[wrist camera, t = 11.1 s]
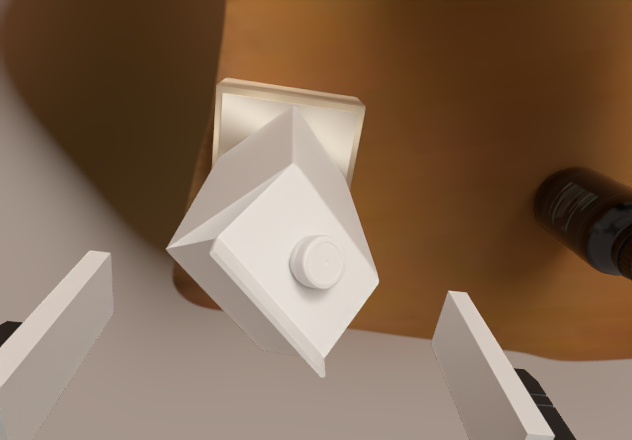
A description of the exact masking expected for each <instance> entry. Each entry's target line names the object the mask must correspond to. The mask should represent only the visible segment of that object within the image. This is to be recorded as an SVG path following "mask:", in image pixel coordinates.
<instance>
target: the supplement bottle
mask: <svg viewBox="0 0 632 440" xmlns="http://www.w3.org/2000/svg"><path fill="white" fill-rule="evenodd" d="M534 210H535V215H536V218H537V220H538V222H539V223H540V225H541V226H542V227H543V228H544V229H546V230H547V231H548V232H549V233H550V234H552V235H553V236H554V237H555V238H557V239H558V240H559V241H560V242H562V243H563V244H564V245H565V246H566V247H568V248H569V249H570V250H571V251H573V252H574V253H575V254H576V255H578V256H579V257H580V258H581V259H583V260H584V261H585V262H586V263H588V264H589V265H590V266H591V267H593V268H594V269H596V270H598V271H600V272H602V273H605V274H609V275H619V276H621V275H622V276H624V277H626V278H628V279H630V280H632V188H631V187H628V186H626V185H624V184H622V183H620V182H618V181H616V180H614V179H612V178H610V177H607V176H605V175H603V174H601V173H599V172H597V171H594V170H592V169H589V168H584V167H573V168H568V169H565V170H562V171H560V172H558V173H556V174H555V175H553V176H552V177H550V178H549V179H548V180H547V181H546V182H545V183H544V184H543V186H542V187H541V188H540V190H539V192H538V194H537V196H536V199H535V206H534Z"/></svg>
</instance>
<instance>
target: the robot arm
mask: <svg viewBox="0 0 632 440" xmlns="http://www.w3.org/2000/svg"><path fill="white" fill-rule="evenodd" d="M113 313H114V307H113V287H112V268H111V253H107V252H98V251H89V252H88V253H87V254H86V255H85V256H84V257H83V258H82V259H81V260H80V261H79V263H78V264H77V265H76V266H75V267H74V268H73V269H72V270H71V271H70V272H69V273H68V275H67V276H66V277H65V278H64V279H63V280H62V281H61V282H60V283H59V284H58V286H56V287H55V289H54V290H53V291H52V292H51V293H50V294H49V295H48V296H47V297H46V298H45V299H44V301H43V302H42V303H41V304H40V305H39V306H38V307H37V308H36V309H35V310H34V311H33V312H32V314H31V315H30V316H29V317H28V318H27V319H26V320H25V321H24V322H23V323H22V322H12V321H7V322H5V323H3V324H1V325H0V440H33V439H34V437H35V436H36V434H37V432H38V431H39V429H40V428H41V426H42V425H43V423H44V421H45V420H46V418H47V417H48V415H49V414H50V412H51V410H52V409H53V407H54V406H55V404H56V403H57V401H58V400H59V398H60V396H61V395H62V393H63V392H64V390H65V389H66V387H67V385H68V384H69V382H70V381H71V379H72V378H73V376H74V374H75V373H76V371H77V370H78V368H79V367H80V365H81V364H82V362H83V360H84V359H85V357H86V356H87V354H88V352H89V351H90V349H91V348H92V346H93V345H94V343H95V342H96V340H97V338H98V337H99V335H100V334H101V332H102V330H103V329H104V327H105V326H106V324H107V323H108V321H109V320H110V318H111V317H112V315H113ZM431 347H432V349H433V351H434V354H435V356H436V359H437V361H438V364H439V366H440V369H441V371H442V374H443V376H444V379H445V381H446V383H447V386H448V388H449V391H450V393H451V396H452V398H453V401H454V403H455V406H456V408H457V411H458V413H459V415H460V418H461V420H462V422H463V425H464V427H465V430H466V433H467V435H468V438H469V440H576V439H575V437H574V436H573V434H572V433H571V431H570V430H569V428H568V427H567V425H566V424H565V422H564V421H563V419H562V418H561V416H560V414H559V413H558V411H557V410H556V408H554V407H553V404H552V402H551V401H550V399H549V398H548V397H546V393H545V392H544V391H543V389H542V388H541V386H540V384H539V383H538V381H537V380H536V379H534V378H533V377H532V376H531V375H530V374H529V373H528V372H527V371H526V370H524V369H515V368H513V367H512V366H511V364H510V362H509V361H508V359H507V357H506V356H505V354H504V352H503V351H502V349H501V348H500V346H499V344H498V343H497V341H496V339H495V338H494V336H493V335H492V333H491V331H490V330H489V328H488V327H487V325H486V323H485V322H484V320H483V318H482V317H481V315H480V314H479V312H478V310H477V309H476V307H475V305H474V304H473V302H472V301H471V299H470V297H469V296H468V294H467V293H466V292H457V291H448V293H447V296H446V299H445V302H444V305H443V308H442V311H441V314H440V317H439V320H438V323H437V326H436V329H435V332H434V336H433V339H432V342H431Z"/></svg>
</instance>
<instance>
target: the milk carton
mask: <svg viewBox="0 0 632 440" xmlns="http://www.w3.org/2000/svg"><path fill="white" fill-rule="evenodd" d="M166 250H167V252H168V253H170V255H171V256H172V257H173V258H174V259H175V260H176V261H177V262H178V263H179V264H180V266H181V267H182V268H183V269H184V270H185V271H186V272H187V273H188V274H189V275H190V276H191V277H192V278H193V279H194V280H195V281H196V282H197V283H198V284H199V286H200V287H201V288H202V289H203V290H204V291H205V292H206V293H207V294H208V295H209V296H210V297H211V298H212V299H213V300H214V301H215V302H216V303H217V304H218V305H219V307H220V308H221V309H222V310H223V311H224V312H225V313H226V314H227V315H228V316H229V317H230V318H231V319H232V320H233V321H234V322H235V323H236V324H237V325H238V326H239V327H240V329H241V330H242V331H243V332H244V333H245V334H246V335H247V336H248V337H249V338H250V339H251V340H252V341H253V342H254V343H255V344H256V345H257V346H258V347H259V348H260V349H261V350H263V351H268V352H275V353H281V354H287V355H293V356H300V357H303V358H304V359H305V360H306V361H307V363H308V364H309V365H310V366H311V367H312V368H313V369H314V370H315V371H316V372H317V374H318V375H319V376H320V377H321V378H323V377H325V376H326V373H325V363H324V358H325V357H326V355H327V354H328V353H329V351H330V350H331V348H332V347H333V346H334V344H335V343H336V341H337V340H338V339H339V337H340V336H341V334H342V333H343V332H344V331H345V329H346V328H347V326H348V325H349V324H350V322H351V321H352V320H353V318H354V317H355V315H356V314H357V313H358V311H359V310H360V309H361V307H362V306H363V304H364V303H365V302H366V300H367V299H368V298H369V296H370V295H371V293H372V292H373V291H374V289H375V288H376V286H377V285H378V283H379V279H378V274H377V271H376V268H375V265H374V262H373V259H372V256H371V253H370V250H369V247H368V244H367V241H366V238H365V235H364V232H363V229H362V227H361V224H360V221H359V218H358V215H357V212H356V209H355V206H354V203H353V200H352V197H351V194H350V191H349V188H348V185H347V182H346V180H345V178H344V176H343V174H342V173H341V171H340V170H339V169H338V167H337V166H336V164H335V163H334V161H333V160H332V158H331V157H330V155H329V154H328V152H327V151H326V150H325V148H324V147H323V145H322V144H321V142H320V141H319V139H318V138H317V136H316V135H315V133H314V132H313V131H312V129H311V128H310V126H309V125H308V123H307V122H306V120H305V119H304V117H303V116H302V115H301V113H300V112H299V110H298V109H297V108H296V106H295V105H293V106H291V107H290V108H288V109H287V110H286V111H284V112H283V113H281V114H280V115H278V116H277V117H276V118H274V119H273V120H271V121H270V122H269V123H267V124H266V125H264V126H263V127H261V128H260V129H259V130H257V131H256V132H254V133H253V134H252V135H250V136H249V137H247V138H246V139H245V140H243V141H242V142H240V143H239V144H237V145H236V146H235V147H233V148H232V149H230V150H229V151H228V152H226V153H225V154H223V155H222V156H221V157H219V158H218V160H217V161H216V163H215V165H214V167H213V168H212V170H211V172H210V174H209V175H208V177H207V179H206V181H205V182H204V184H203V186H202V188H201V189H200V191H199V193H198V195H197V196H196V198H195V200H194V201H193V203H192V205H191V207H190V208H189V210H188V212H187V214H186V215H185V217H184V219H183V221H182V222H181V224H180V226H179V228H178V230H177V231H176V233H175V235H174V236H173V238H172V240H171V242H170V243H169V245H168V247H167V248H166Z"/></svg>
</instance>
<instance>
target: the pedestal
mask: <svg viewBox="0 0 632 440" xmlns="http://www.w3.org/2000/svg"><path fill="white" fill-rule="evenodd" d="M293 105H295V106H296V108H297V109H298V110H299V112H300V113H301V115H302V116H303V117H304V119H305V120H306V122H307V123H308V125H309V126H310V128H311V129H312V131H313V132H314V133H315V135H316V136H317V138H318V139H319V141H320V142H321V144H322V145H323V147H324V148H325V150H326V151H327V152H328V154H329V155H330V157H331V158H332V160H333V161H334V163H335V164H336V166H337V167H338V169H339V170H340V171H341V173H342V174H343V176H344V178H345V180H346V182H347V185H348V188H349V191H350V187H351V181H352V176H353V171H354V166H355V161H356V156H357V150H358V145H359V140H360V135H361V130H362V125H363V119H364V114H365V109H366V107H365V106H364V104H363V103H362V102H361V101H360V100H359V99H358V98H357V97H353V96H346V95H339V94H333V93H326V92H319V91H313V90H306V89H299V88H293V87H286V86H280V85H273V84H266V83H260V82H253V81H246V80H240V79H233V78H225V79H224V80H222V81H221V82H220V83H218V84H217V86H216V104H215V121H214V139H213V157H212V168H213V167H214V165H215V163H216V161H217V160H218V158H219V157H221V156H222V155H223V154H225V153H226V152H228V151H229V150H230V149H232V148H233V147H235V146H236V145H237V144H239V143H240V142H242V141H243V140H245V139H246V138H247V137H249V136H250V135H252V134H253V133H254V132H256V131H257V130H259V129H260V128H261V127H263V126H264V125H266V124H267V123H269V122H270V121H271V120H273V119H274V118H276V117H277V116H278V115H280V114H281V113H283V112H284V111H286V110H287V109H288V108H290V107H291V106H293Z"/></svg>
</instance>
